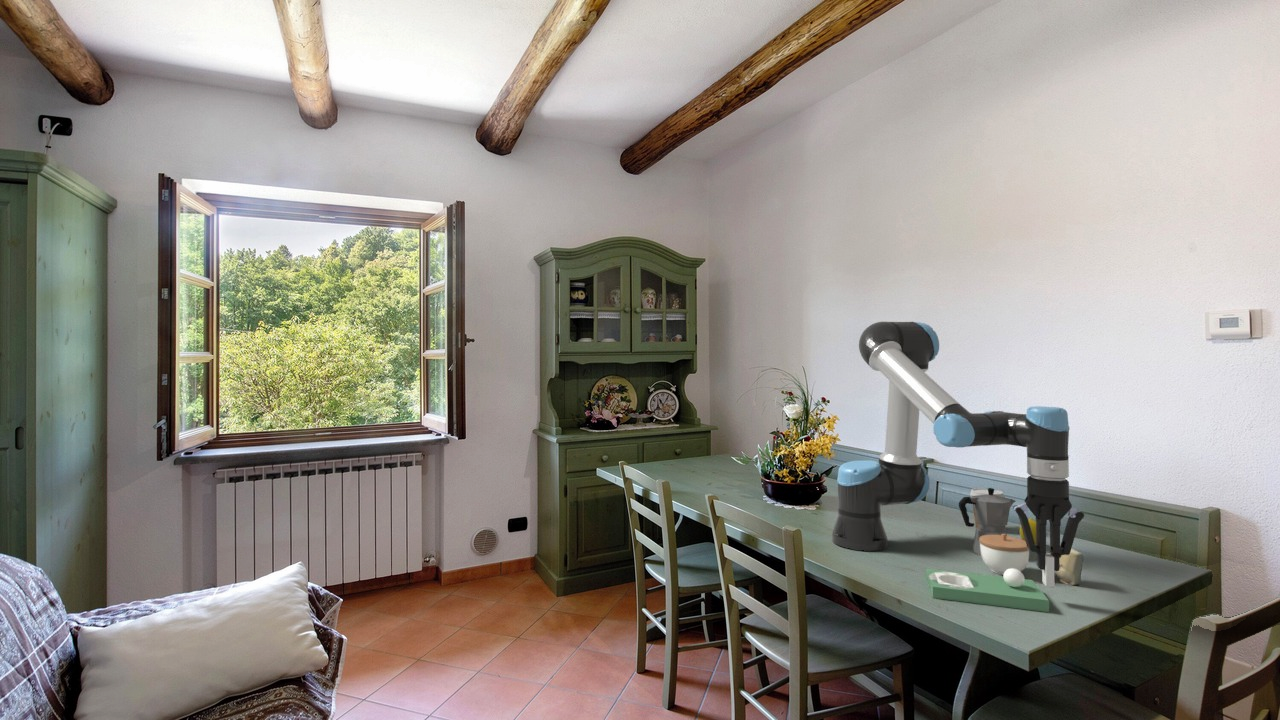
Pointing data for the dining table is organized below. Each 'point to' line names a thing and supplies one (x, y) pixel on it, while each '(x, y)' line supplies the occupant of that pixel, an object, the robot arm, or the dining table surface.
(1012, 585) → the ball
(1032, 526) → the lemon
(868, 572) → the dining table surface
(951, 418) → the robot arm
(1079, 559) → the beige rounded block
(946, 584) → the green flat slab
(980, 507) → the coffeepot
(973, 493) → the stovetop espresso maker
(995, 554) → the lidded jar
